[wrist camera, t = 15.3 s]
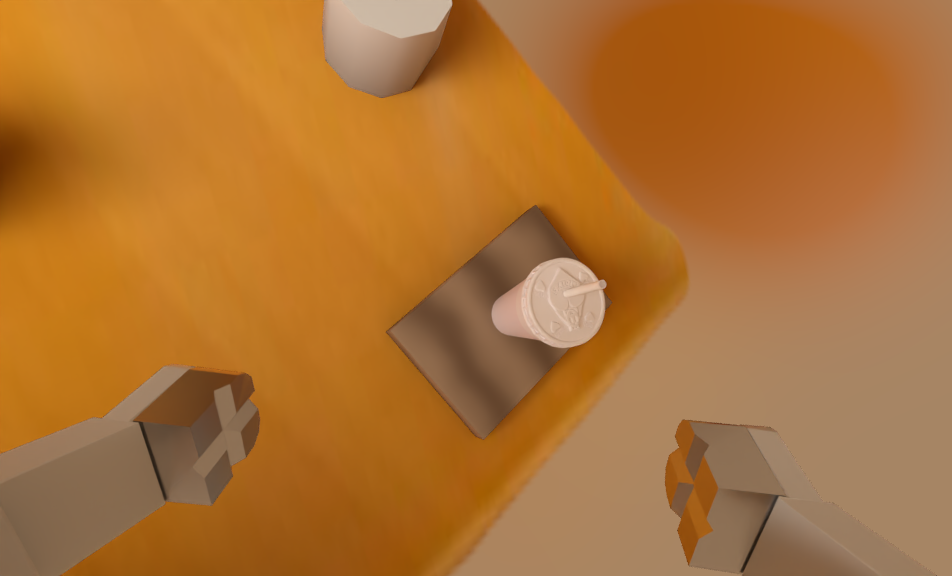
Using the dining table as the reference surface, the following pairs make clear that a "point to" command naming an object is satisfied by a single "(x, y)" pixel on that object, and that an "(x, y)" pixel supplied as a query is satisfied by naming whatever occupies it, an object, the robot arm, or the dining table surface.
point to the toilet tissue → (382, 41)
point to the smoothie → (553, 305)
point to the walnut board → (483, 327)
